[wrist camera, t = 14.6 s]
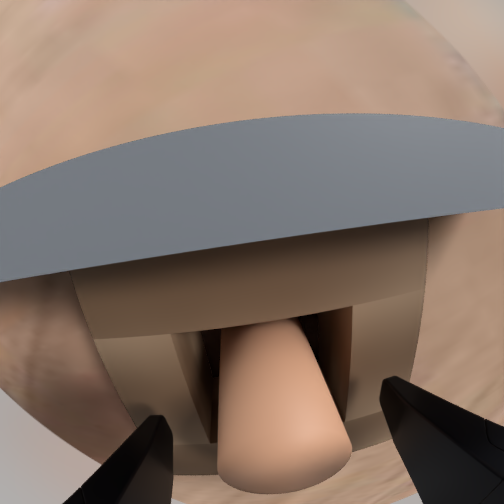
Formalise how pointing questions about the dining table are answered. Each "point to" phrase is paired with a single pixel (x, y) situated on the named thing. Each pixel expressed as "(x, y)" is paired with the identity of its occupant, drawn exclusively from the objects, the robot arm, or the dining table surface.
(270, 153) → the bar
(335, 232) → the block
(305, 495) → the dining table surface
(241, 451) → the dowel
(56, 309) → the dining table surface
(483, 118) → the dining table surface
